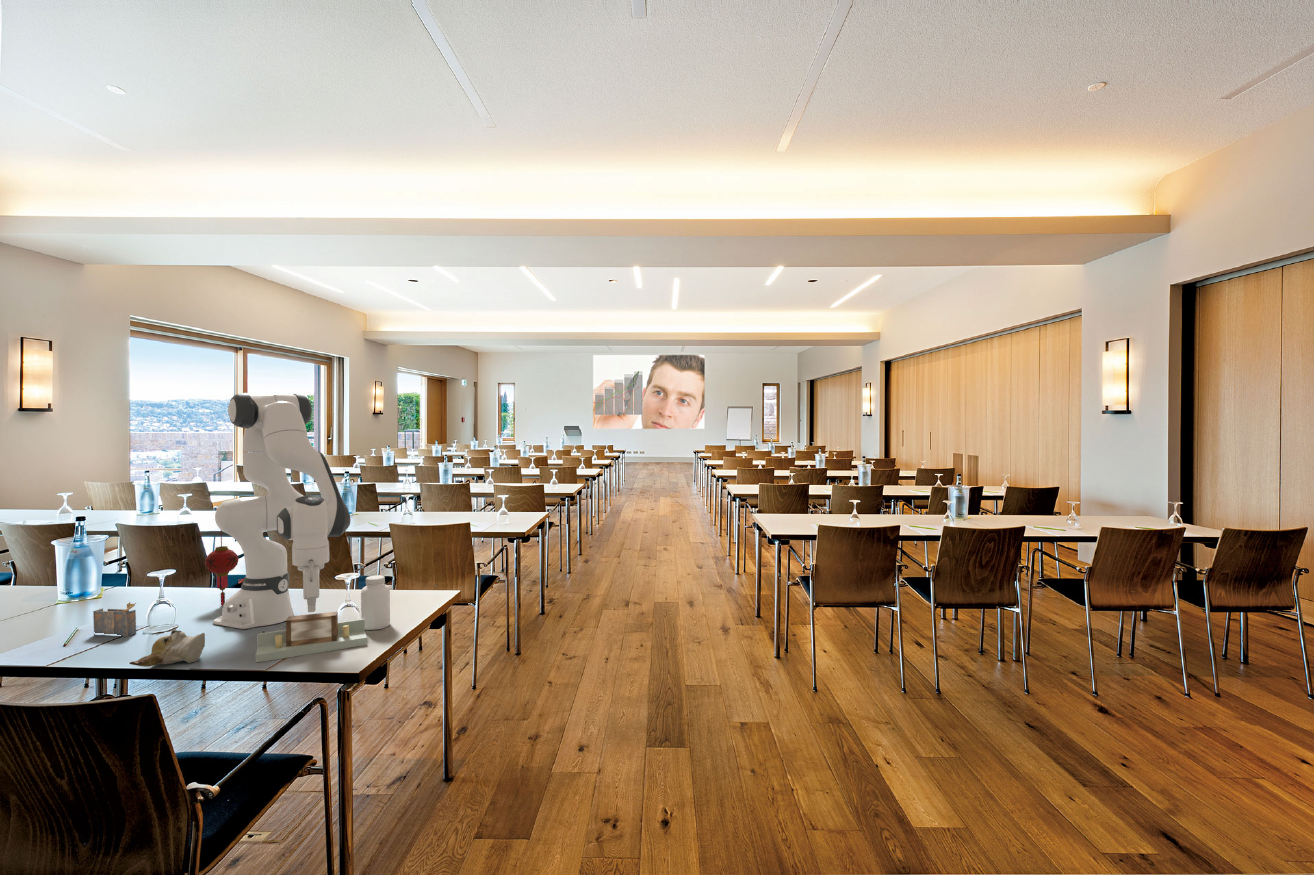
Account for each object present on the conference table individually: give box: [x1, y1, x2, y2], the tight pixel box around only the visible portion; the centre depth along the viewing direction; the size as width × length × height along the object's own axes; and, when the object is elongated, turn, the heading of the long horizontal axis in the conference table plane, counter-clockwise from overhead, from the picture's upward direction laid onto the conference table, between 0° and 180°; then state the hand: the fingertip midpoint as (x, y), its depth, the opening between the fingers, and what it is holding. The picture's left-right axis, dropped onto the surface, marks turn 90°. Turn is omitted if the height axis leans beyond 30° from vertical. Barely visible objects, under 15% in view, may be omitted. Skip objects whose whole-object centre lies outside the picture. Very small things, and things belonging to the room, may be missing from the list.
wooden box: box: [285, 610, 339, 647], centre depth 172 cm, size 12×4×7 cm, turn 111°
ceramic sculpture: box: [129, 629, 206, 668], centre depth 163 cm, size 11×9×15 cm
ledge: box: [255, 618, 368, 663], centre depth 172 cm, size 26×8×5 cm, turn 119°
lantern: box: [204, 529, 239, 606], centre depth 214 cm, size 10×10×30 cm
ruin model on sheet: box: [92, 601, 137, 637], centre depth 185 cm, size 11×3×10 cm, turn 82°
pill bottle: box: [360, 574, 391, 631], centre depth 190 cm, size 8×8×15 cm
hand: (311, 606), depth 172 cm, fingers open, 8 cm apart
